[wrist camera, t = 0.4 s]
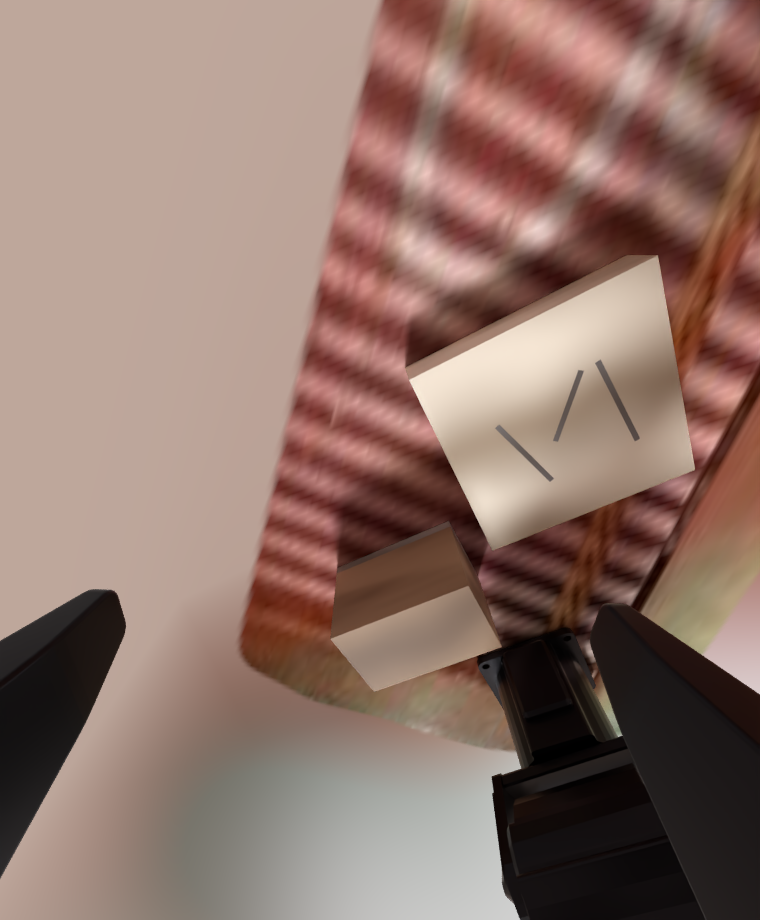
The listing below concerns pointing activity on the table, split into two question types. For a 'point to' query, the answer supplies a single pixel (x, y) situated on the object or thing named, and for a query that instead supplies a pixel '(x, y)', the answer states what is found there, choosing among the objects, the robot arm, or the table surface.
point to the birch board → (561, 402)
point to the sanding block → (411, 609)
